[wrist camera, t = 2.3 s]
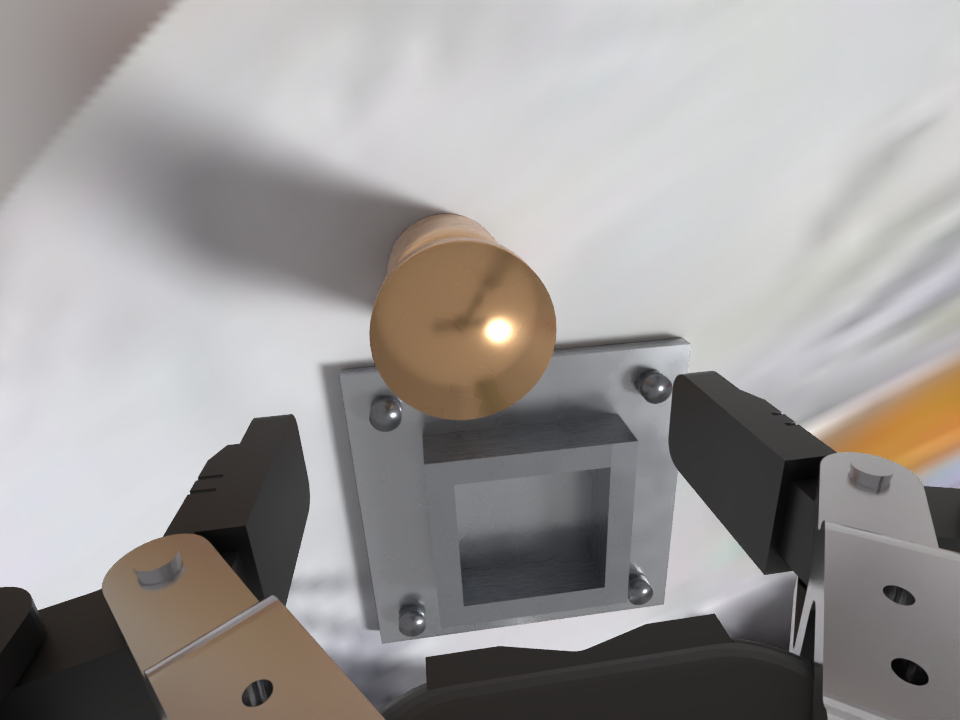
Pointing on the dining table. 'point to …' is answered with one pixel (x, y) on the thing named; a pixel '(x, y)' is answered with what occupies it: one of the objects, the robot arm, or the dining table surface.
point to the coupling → (520, 495)
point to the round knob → (460, 321)
